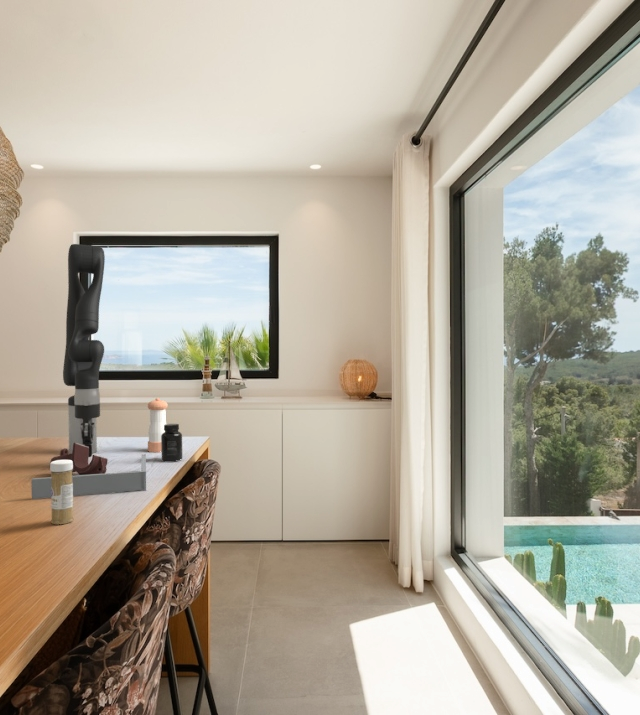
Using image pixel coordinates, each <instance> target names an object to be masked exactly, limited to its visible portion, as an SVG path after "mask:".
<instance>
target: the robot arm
mask: <svg viewBox="0 0 640 715" xmlns="http://www.w3.org/2000/svg"><path fill="white" fill-rule="evenodd" d="M105 256H106V255H105V250H104V249H103V247H101V246H99V245H98V246H97V245H88V244H78V243H72V244H71V245H69V248H68V256H67V269H68V270H67V272H68V274H67V278H68V282H67V283H68V284H67V285H68V288H67V290H68V292H67V293H68V294H67V306H66V320H65V321H66V322H65V323H66V325H65V328H66V329H65V330H66V332H65V333H66V334H65V350H64V362H63V370H62V377H63V378H62V380H63V383H64V385H65V386H68V387H74V395H72V396H70V397H68V400H67V405H68V406H67V408H68V410H67V411H68V412H67V413H68V454H72V450H73V443H78V444H81V445H84V446H87V447H89V458H92V456H93V453H96V452H98V450H97V449H98V447H97V446H98V445H97V444H98V443H97V438H98V435H97V418H100V416H101V395H100V385H99V384H100V383H99V382H100V381H99V380H100V378H99V376H100V369H101V365H102V361H103V358H104V354H105V346H104V343H103V342H102V341H101V340H99V339H89V338H90V337H91V336H92V335H94V334H96V333H98V331H99V325H100V324H99V323H100V320H99V318H100V314H99V313H100V301H101V294H102V288H103V280H104V279H103V278H104V271H105ZM79 273H80V274H91V275H93V276H92V277H93V278H92V281H91V283H90V285H89V286H88V288H87V289H86V291H85V289H84V287H83V285H82V283H81V280H80V277H79V276H80V275H79Z"/></svg>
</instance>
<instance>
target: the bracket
mask: <svg viewBox="0 0 640 715" xmlns="http://www.w3.org/2000/svg"><path fill="white" fill-rule="evenodd" d="M59 453H60V454H59V456H58V455H56V456H53V457H52V458H51V460H50V462H49V464H50V463H51V462H52V461H56V460H72V461H73V469H72V473H77V474H78V475H90V474H105V473H106V472H107V465H108V457H107V458H106V457H104V456H100V455H97V454H92V456H91V461H90V463H89V458H90V457H89V447H87V446H84V445H81V444H78V443H73V450H72V454H70V453H69V448H61V449H60V452H59Z"/></svg>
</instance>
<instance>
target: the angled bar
mask: <svg viewBox="0 0 640 715" xmlns="http://www.w3.org/2000/svg"><path fill="white" fill-rule="evenodd" d="M146 456H147V455H146V453H145V454H144V453H143V454H141V461H140V463H141V464H140V470H137V471H122V472H121V471H119V472H107V473H105V474H90V475H79V474H78V475H77V474H76V475H72V482H73V497H77V496H90V495H91V494H92V495H100V494H101V493H105V494H113V493H112V492H118V493H124V492H123V491H131V492H136V491H135V490H143V491H147V462H146V461H147V460H146V459H147V457H146ZM30 481H31V485H30V486H31V500H40V499H51V476H49V477H36V478H35V477H34V478H31V480H30ZM101 495H102V494H101Z"/></svg>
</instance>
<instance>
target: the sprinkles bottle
mask: <svg viewBox="0 0 640 715" xmlns="http://www.w3.org/2000/svg"><path fill="white" fill-rule="evenodd" d="M72 469H73V461H72V460H56V461H52V462H51V463H50V462H49V470H50V477H51V498H50V499H51V503H50V504H51V505H50V508H51V520H50V522H51V524H53V525H59V524H60V525H64V524H68V523H69V524H70V523H72V522H73V521H74V514H73V512H74V510H73V506H74V496H73V482H72V476H73V472H72Z"/></svg>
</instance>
